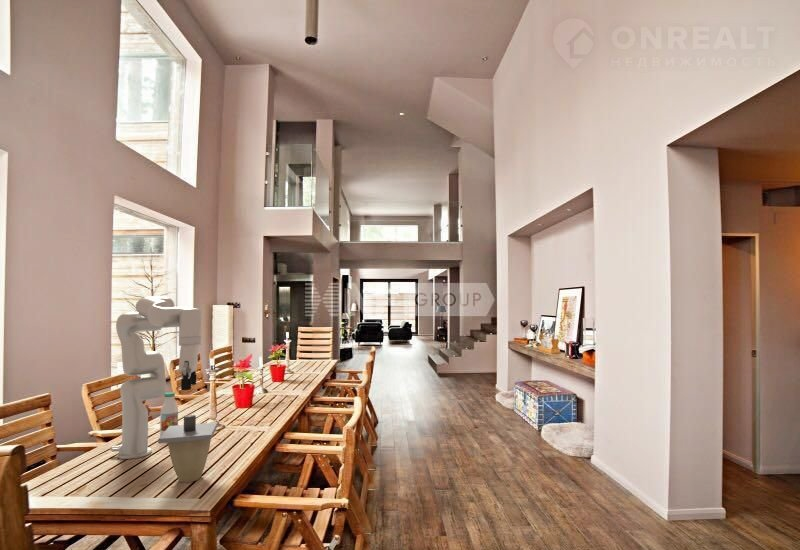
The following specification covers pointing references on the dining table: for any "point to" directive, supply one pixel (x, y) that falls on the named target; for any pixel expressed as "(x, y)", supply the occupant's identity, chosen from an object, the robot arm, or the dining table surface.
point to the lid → (188, 431)
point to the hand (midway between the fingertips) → (188, 387)
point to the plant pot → (189, 458)
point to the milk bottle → (168, 412)
